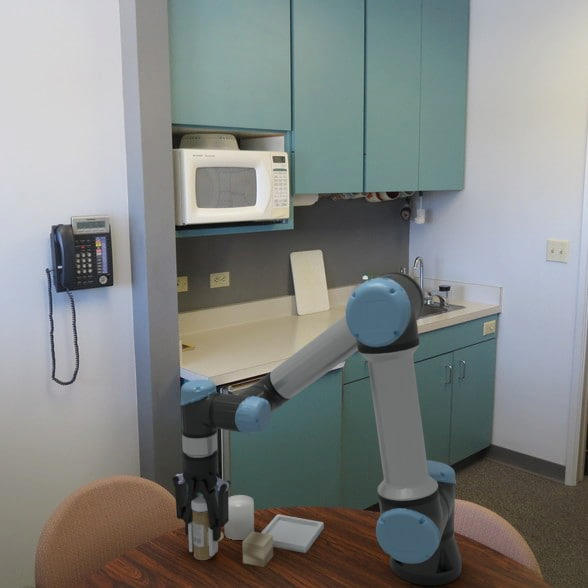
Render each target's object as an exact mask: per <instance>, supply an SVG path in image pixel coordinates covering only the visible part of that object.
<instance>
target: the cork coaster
mask: <svg viewBox="0 0 588 588" xmlns="http://www.w3.org/2000/svg"><path fill="white" fill-rule="evenodd" d="M224 536H225V534H224V532H222V531H221V537H220V539H219V540H218V543H219V542H221V541H222V540H224Z"/></svg>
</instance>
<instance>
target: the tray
mask: <svg viewBox="0 0 588 588" xmlns="http://www.w3.org/2000/svg"><path fill="white" fill-rule="evenodd" d="M324 523H325V522H322V521H318V520H313V519H308V518H307V519H305V518H300V517H295V516H289V515H284V514H278V513H277V514H276V516H274V518H273V519H272V520H270V522H269V524H267V525H266V526H265V528H263V530H262V531H261V532H260V533H264V534H269V535H273V548H277V549H283V550H287V551H292V552H296V553H298V552H299V553H301V554H302V553H304V554H307V553H308V552H309V550H310V548H311V547H312V546H313V544H314V543H315V542H316V540H317V539H318V537H319V536H320V535H321V533H322V532H323V530H324V526H325V525H324Z"/></svg>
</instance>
